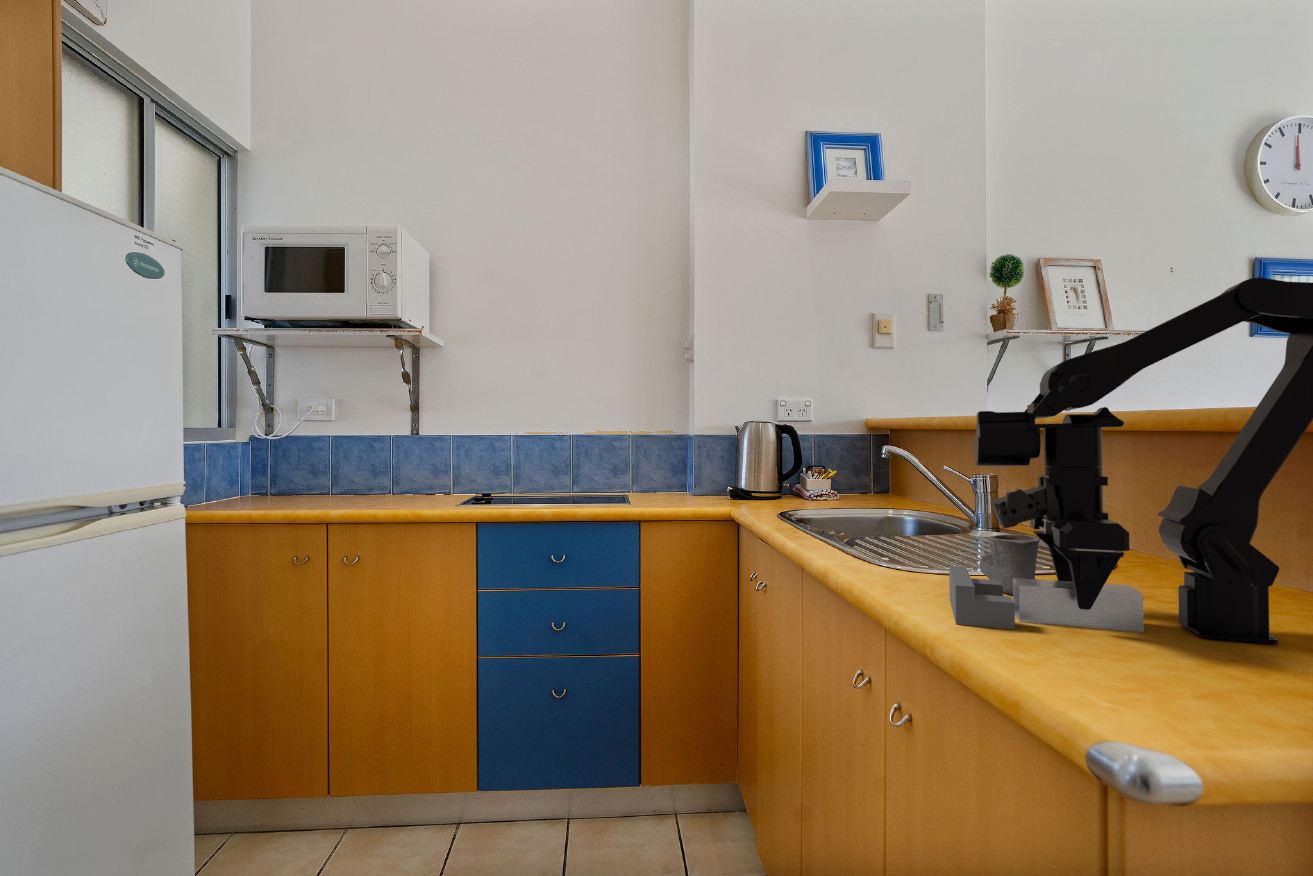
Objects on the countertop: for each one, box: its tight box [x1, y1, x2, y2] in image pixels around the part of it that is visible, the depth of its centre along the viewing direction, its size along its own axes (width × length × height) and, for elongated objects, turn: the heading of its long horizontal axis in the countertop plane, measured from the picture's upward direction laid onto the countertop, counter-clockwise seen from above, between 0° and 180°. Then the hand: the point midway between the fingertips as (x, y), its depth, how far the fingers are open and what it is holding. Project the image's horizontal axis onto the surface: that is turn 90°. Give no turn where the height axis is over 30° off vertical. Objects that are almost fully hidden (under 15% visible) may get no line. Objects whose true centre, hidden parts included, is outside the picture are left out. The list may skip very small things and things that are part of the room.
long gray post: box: [1012, 578, 1145, 633], centre depth 74 cm, size 12×4×4 cm, turn 68°
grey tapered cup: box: [979, 534, 1041, 596], centre depth 90 cm, size 6×13×8 cm, turn 174°
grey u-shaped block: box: [948, 565, 1016, 630], centre depth 78 cm, size 6×12×4 cm, turn 158°
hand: (1074, 599), depth 74 cm, fingers open, 9 cm apart
